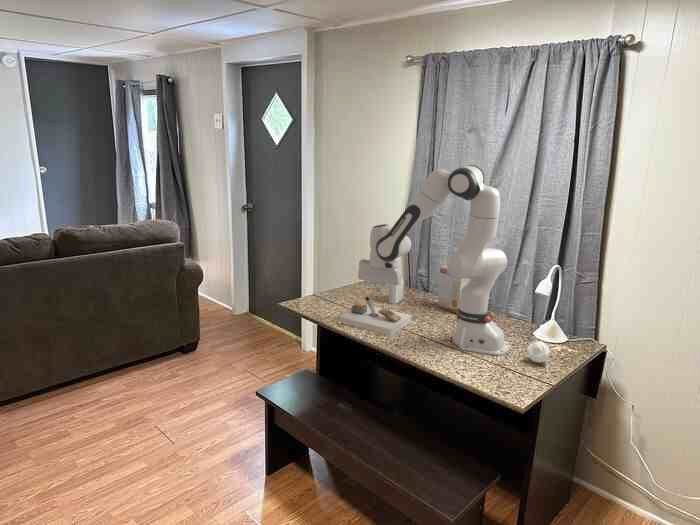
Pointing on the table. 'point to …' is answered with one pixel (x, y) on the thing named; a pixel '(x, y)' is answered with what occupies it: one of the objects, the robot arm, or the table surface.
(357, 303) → the push button
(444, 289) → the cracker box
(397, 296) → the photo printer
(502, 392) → the table surface
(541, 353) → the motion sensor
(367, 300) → the toggle lever
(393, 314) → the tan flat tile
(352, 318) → the switch panel
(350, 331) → the table surface
